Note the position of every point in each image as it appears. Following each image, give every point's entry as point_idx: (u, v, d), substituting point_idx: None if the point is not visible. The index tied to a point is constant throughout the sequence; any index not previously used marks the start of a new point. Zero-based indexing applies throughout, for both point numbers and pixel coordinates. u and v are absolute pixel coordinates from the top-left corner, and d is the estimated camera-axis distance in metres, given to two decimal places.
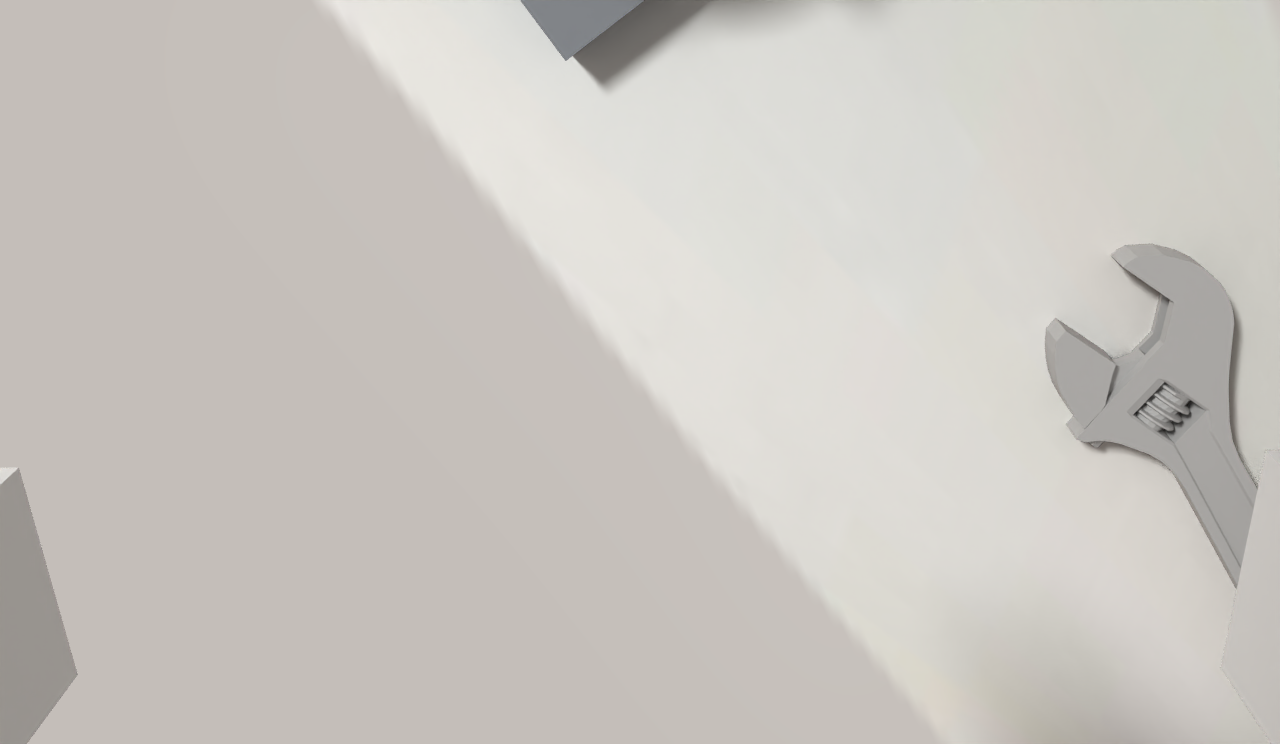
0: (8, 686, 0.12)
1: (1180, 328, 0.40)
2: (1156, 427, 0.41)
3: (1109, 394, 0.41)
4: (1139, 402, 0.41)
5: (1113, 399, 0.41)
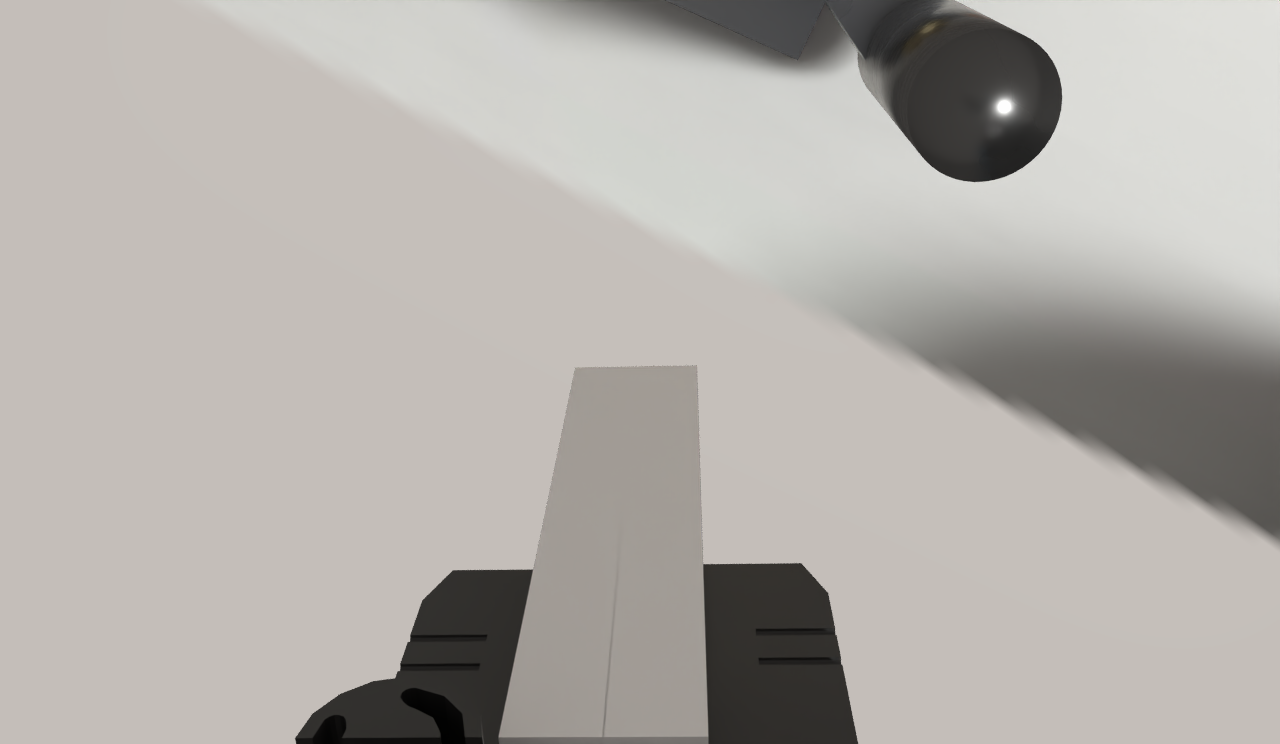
0: None
1: None
2: None
3: None
4: None
5: None
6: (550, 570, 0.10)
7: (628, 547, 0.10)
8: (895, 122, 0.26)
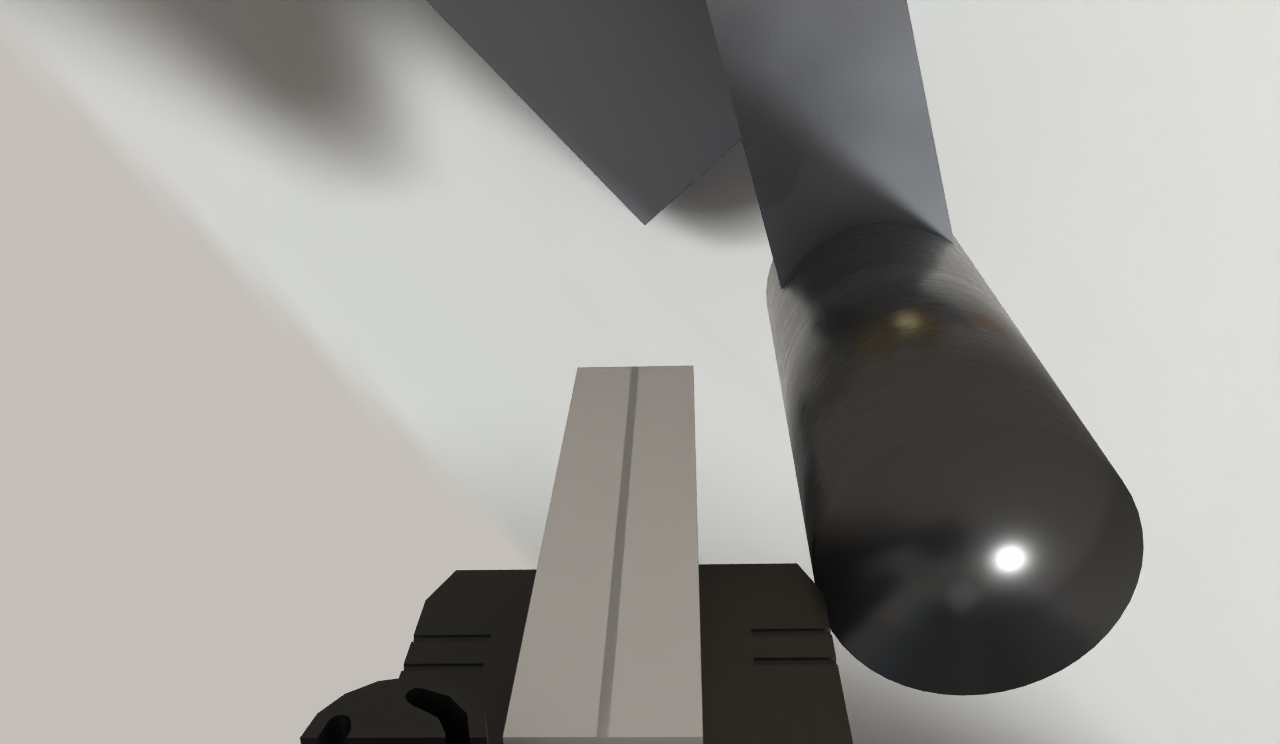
0: None
1: None
2: None
3: None
4: None
5: None
6: (553, 570, 0.10)
7: (623, 547, 0.10)
8: None
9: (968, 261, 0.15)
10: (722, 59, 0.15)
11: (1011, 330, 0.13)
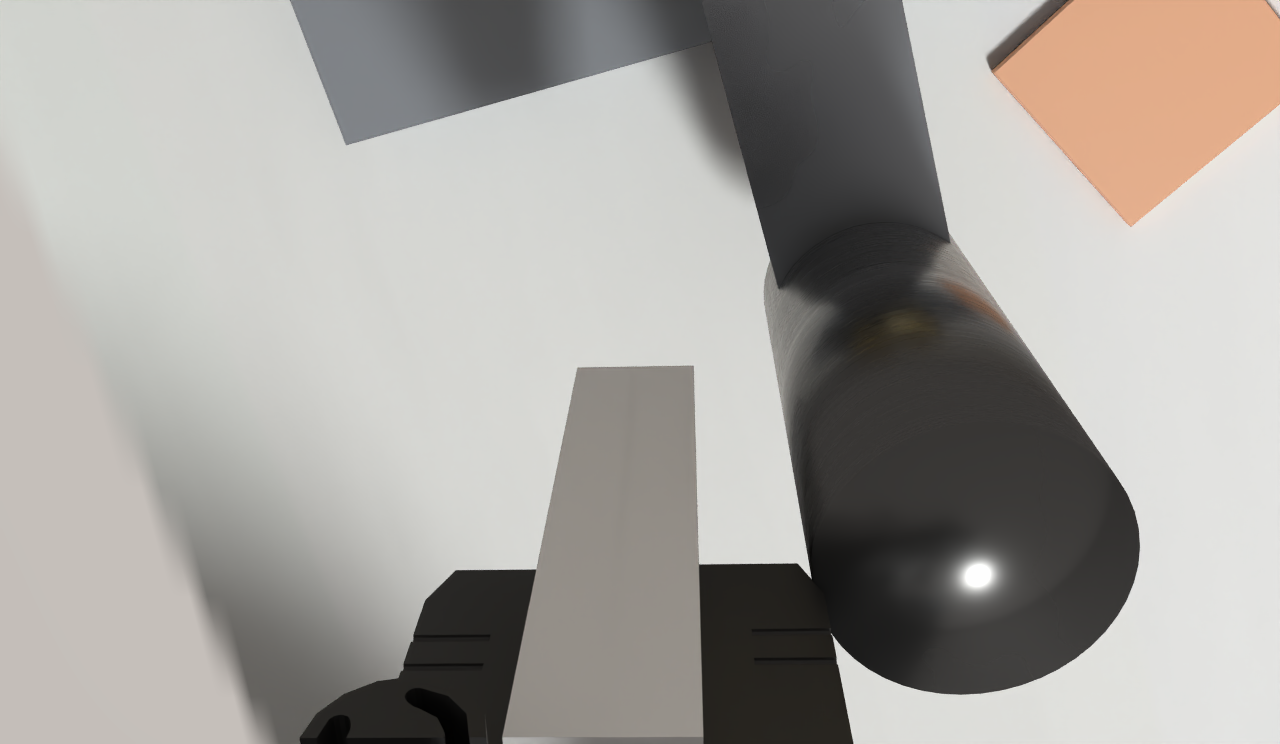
0: None
1: None
2: None
3: None
4: None
5: None
6: (553, 571, 0.10)
7: (624, 547, 0.10)
8: None
9: (965, 260, 0.15)
10: (718, 60, 0.15)
11: (1007, 330, 0.13)
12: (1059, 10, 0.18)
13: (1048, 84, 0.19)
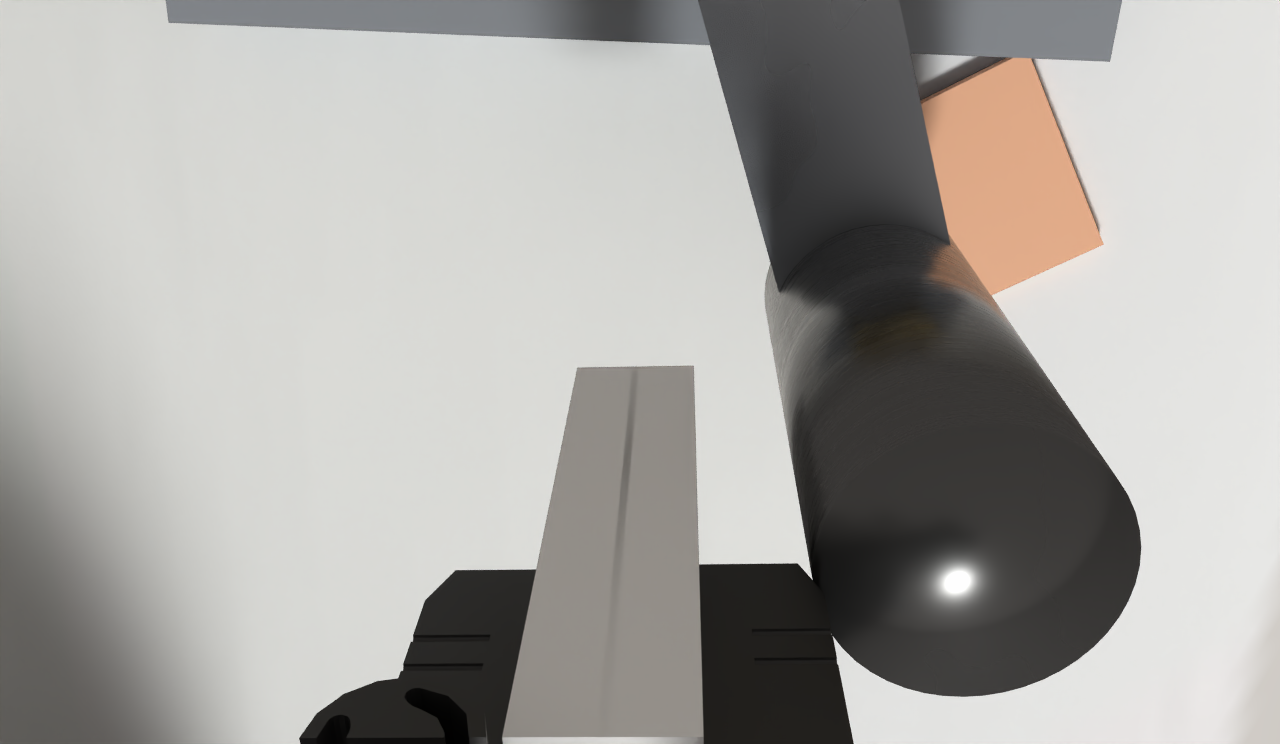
0: None
1: None
2: None
3: None
4: None
5: None
6: (553, 570, 0.10)
7: (624, 547, 0.10)
8: None
9: (965, 262, 0.15)
10: (717, 64, 0.15)
11: (1008, 331, 0.13)
12: None
13: None
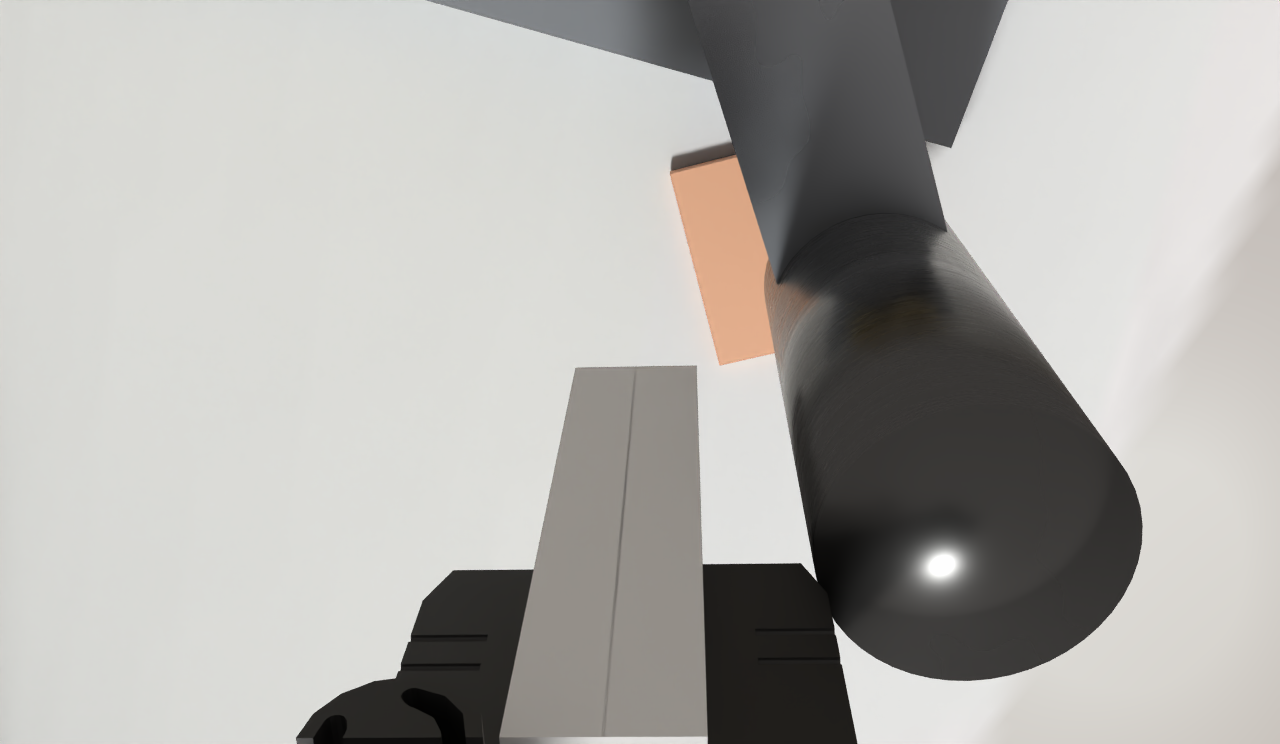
0: None
1: None
2: None
3: None
4: None
5: None
6: (551, 570, 0.10)
7: (628, 547, 0.10)
8: None
9: (962, 248, 0.15)
10: (707, 58, 0.15)
11: (1004, 314, 0.13)
12: None
13: (709, 209, 0.20)
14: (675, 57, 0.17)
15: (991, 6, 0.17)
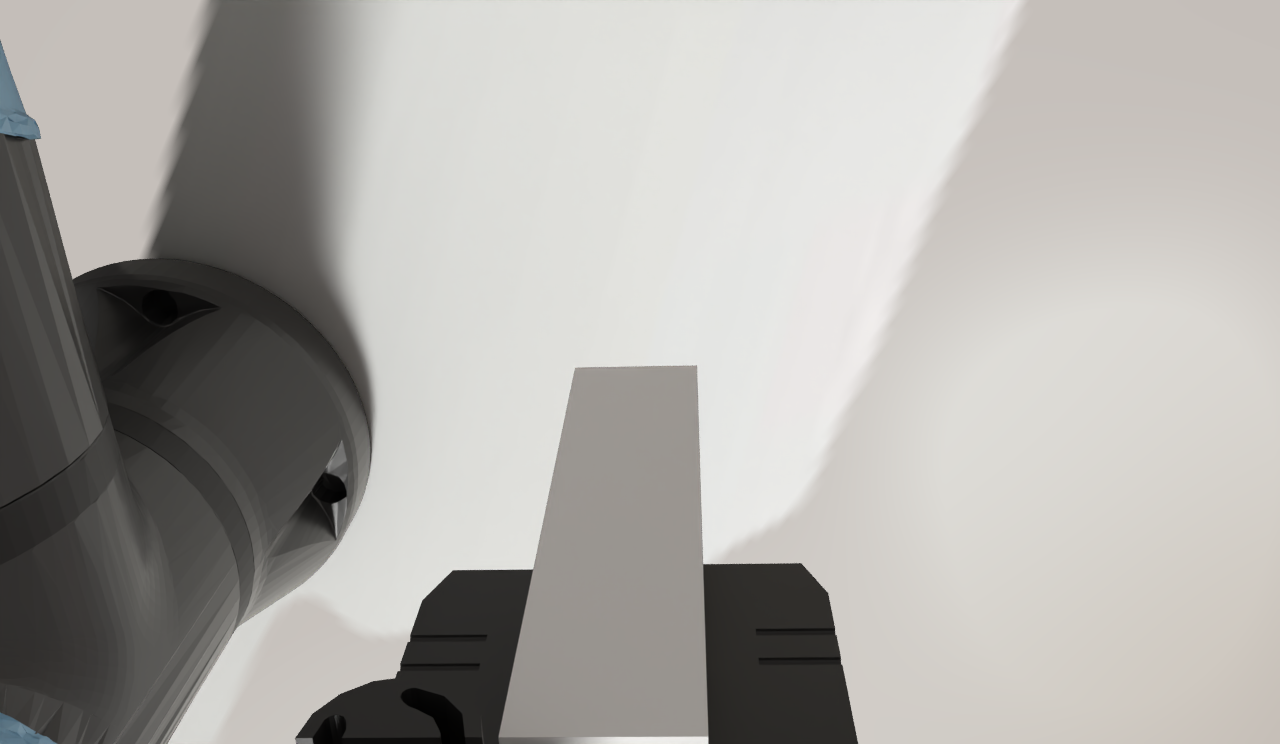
0: None
1: None
2: None
3: None
4: None
5: None
6: (550, 570, 0.10)
7: (628, 547, 0.10)
8: None
9: None
10: None
11: None
12: None
13: None
14: None
15: None
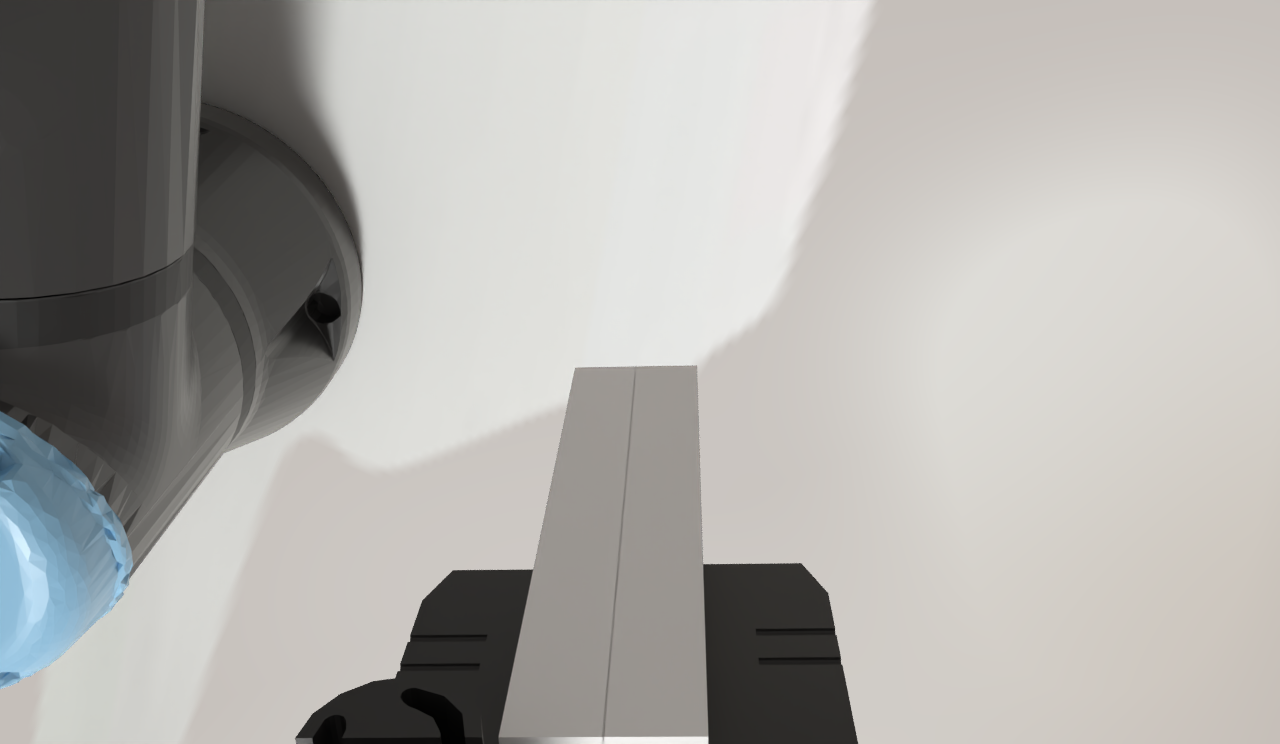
0: None
1: None
2: None
3: None
4: None
5: None
6: (550, 570, 0.10)
7: (628, 547, 0.10)
8: None
9: None
10: None
11: None
12: None
13: None
14: None
15: None
